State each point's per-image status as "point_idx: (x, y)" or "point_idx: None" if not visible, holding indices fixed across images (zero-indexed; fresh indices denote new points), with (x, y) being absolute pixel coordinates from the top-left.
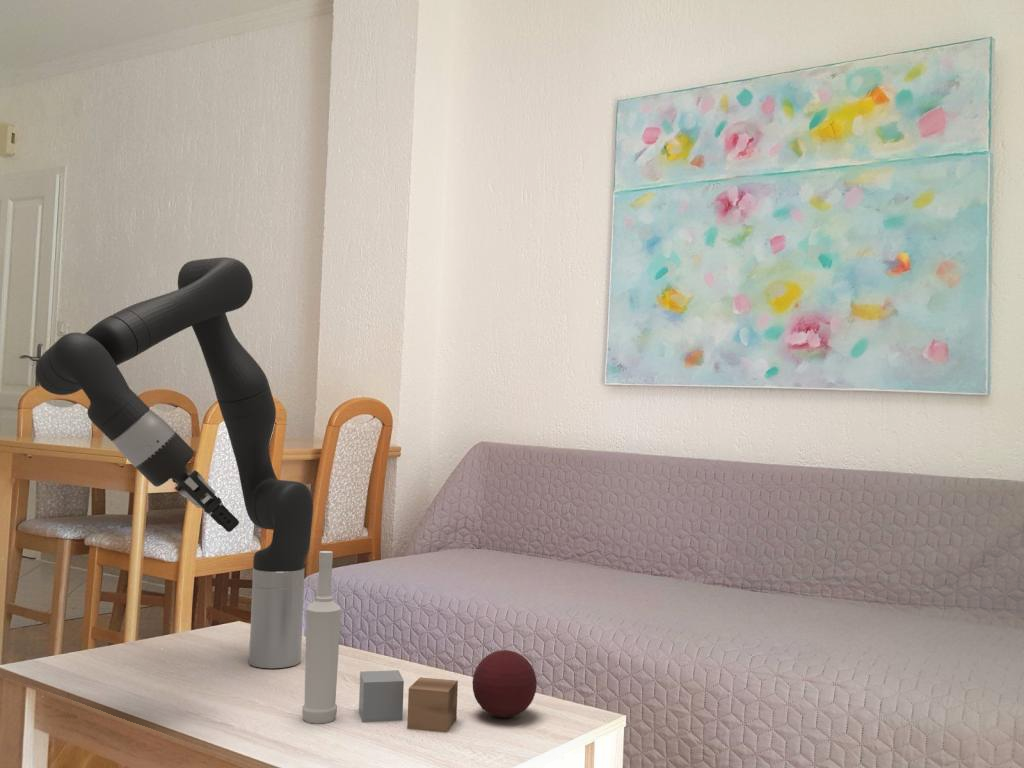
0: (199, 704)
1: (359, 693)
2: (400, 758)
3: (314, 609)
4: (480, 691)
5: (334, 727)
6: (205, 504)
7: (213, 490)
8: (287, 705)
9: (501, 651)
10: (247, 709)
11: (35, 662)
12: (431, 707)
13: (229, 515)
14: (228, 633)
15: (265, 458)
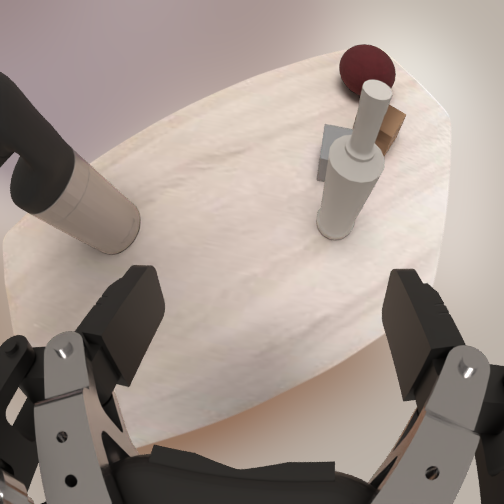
0: (236, 339)
1: (318, 171)
2: (446, 190)
3: (377, 174)
4: None
5: (365, 216)
6: (109, 382)
7: (460, 428)
8: (276, 245)
9: (371, 51)
10: (275, 290)
11: None
12: (396, 133)
13: (448, 312)
14: (20, 252)
15: None
